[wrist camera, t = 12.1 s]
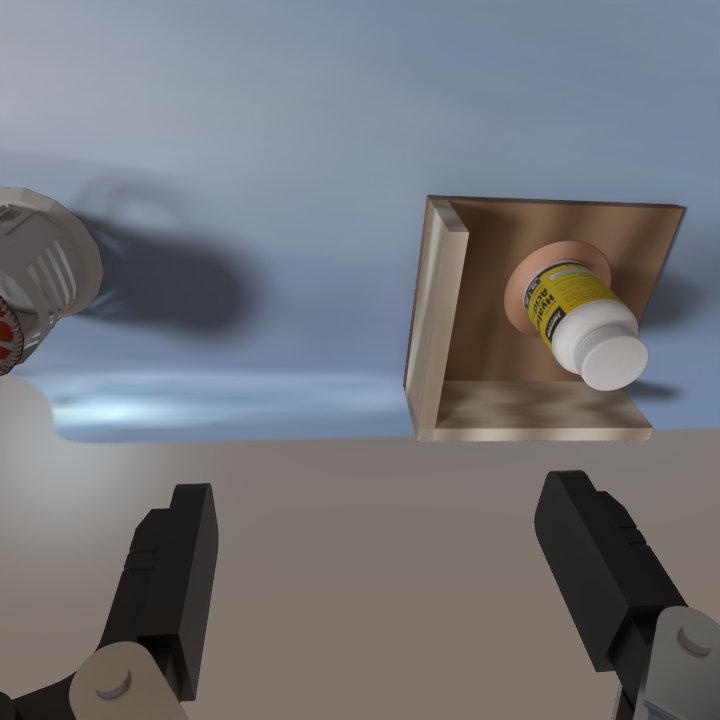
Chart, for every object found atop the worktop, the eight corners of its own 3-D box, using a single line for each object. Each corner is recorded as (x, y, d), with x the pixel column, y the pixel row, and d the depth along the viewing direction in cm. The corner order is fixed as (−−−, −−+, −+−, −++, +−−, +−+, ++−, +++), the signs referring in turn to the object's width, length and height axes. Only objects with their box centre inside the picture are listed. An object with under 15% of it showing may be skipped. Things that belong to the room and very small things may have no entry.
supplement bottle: (520, 264, 40) (574, 333, 31) (595, 251, 39) (669, 317, 31) (519, 328, 42) (569, 406, 34) (589, 317, 42) (655, 392, 34)
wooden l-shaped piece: (675, 204, 39) (739, 240, 33) (607, 386, 48) (648, 440, 42) (427, 195, 37) (448, 231, 32) (403, 385, 46) (416, 441, 40)
